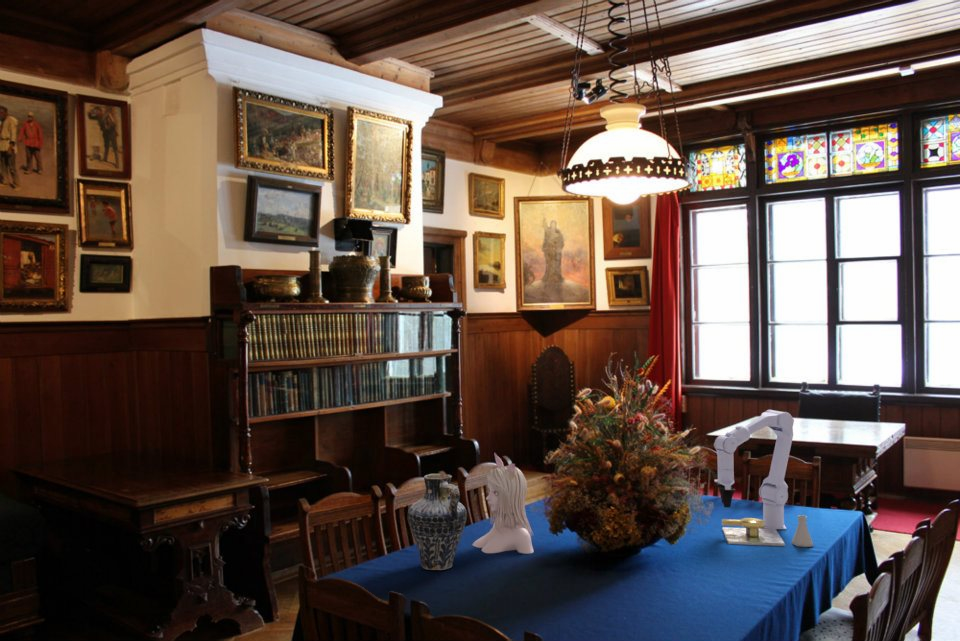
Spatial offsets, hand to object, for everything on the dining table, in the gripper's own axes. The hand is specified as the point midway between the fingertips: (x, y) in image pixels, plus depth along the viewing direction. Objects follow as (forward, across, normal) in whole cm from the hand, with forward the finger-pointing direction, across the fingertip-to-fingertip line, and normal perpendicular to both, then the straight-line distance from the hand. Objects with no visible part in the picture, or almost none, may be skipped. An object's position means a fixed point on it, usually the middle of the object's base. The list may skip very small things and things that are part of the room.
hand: (726, 505), depth 291 cm
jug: (+11, +53, -96) cm, 111 cm away
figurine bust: (+11, +26, -80) cm, 84 cm away
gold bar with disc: (+9, +5, +5) cm, 12 cm away
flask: (+11, +11, +24) cm, 29 cm away
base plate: (+10, +5, +8) cm, 14 cm away
